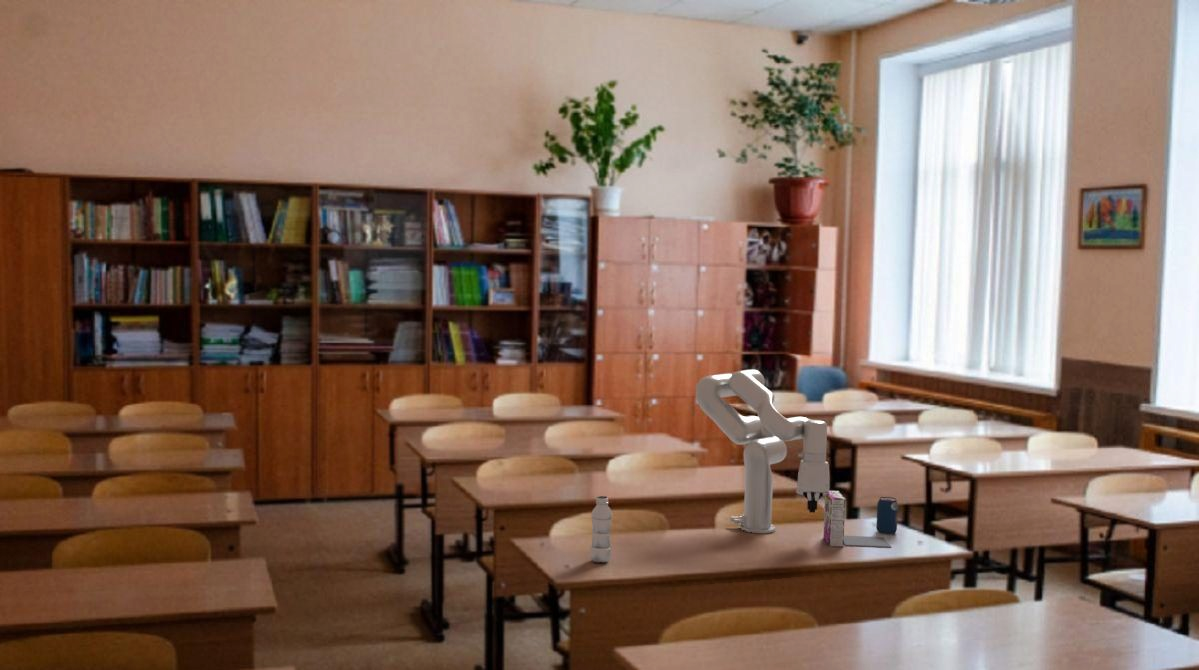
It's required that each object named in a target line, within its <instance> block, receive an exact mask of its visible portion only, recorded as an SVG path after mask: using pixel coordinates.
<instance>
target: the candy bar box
mask: <svg viewBox="0 0 1199 670" xmlns="http://www.w3.org/2000/svg"><path fill="white" fill-rule="evenodd" d="M823 509H824V511H823V513H824V515H823V539H824V540H825V543H827V545H828V546H829V547H831V548H832V547H833V548H835V547H836V548H840V547H841V548H843V547H844V536H845V519H846V518H845V514H846V511H845V509H846V498H845V497H844V496H843V495H842V493H841V492H840V491H839V490H829V495H825V496H824V508H823Z"/></svg>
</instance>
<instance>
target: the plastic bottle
mask: <svg viewBox="0 0 1199 670" xmlns="http://www.w3.org/2000/svg"><path fill="white" fill-rule="evenodd" d="M595 499H596V500H595V504H596V505H595V507H594V508H593V509H592V510H591V511H592V512H591V525H592V537H591V538H592V539H591V546H590V551H589V557H590V559H591V561H592V562H594V563H600V562H601V563H607V562H609V561H610V560H611V555H612V549H611V539H610V538H611V537H610V536H611V535H610V534H611V533H610V532H611V524H612V520H613V512H612V510H611V508H610V507H609V497H608V496H605V495H599V496H596V498H595Z"/></svg>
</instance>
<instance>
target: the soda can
mask: <svg viewBox="0 0 1199 670" xmlns="http://www.w3.org/2000/svg"><path fill="white" fill-rule="evenodd" d="M898 513H899V503H898V501H897V498H895V497H890V496H880V497H879V500H877V506H876V528H875V529H876V531H877V532H878V534H881V535H887V536H888V535H889V536H890V535H893V536H894V535H895V533H897V530H898Z"/></svg>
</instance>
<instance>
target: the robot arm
mask: <svg viewBox="0 0 1199 670" xmlns="http://www.w3.org/2000/svg"><path fill="white" fill-rule="evenodd" d="M764 377H765V376H764V375H763V373H761V372H760V371H759V370H757V369H743V370H738V371H733V372H725V373H724V372H723V373H718V374H711V375H706V376H704V377H702V378H701V379H700V380H699V381H698V382H697V383H696V387H695V398H696V401H697V403H698V406H699V408H700V409H701V410H702V411H703V413H705V415H707V417H709V418H710V419H711V421H713V422H714V423H715V424H716V426H717V427H718V428H719V429H720V430H721V431H722V432H723V433H724V435H726V436H727V437H728V438H729V440H730V441H732V443H734V444H736V445H746V446H744V449H743V462H744V463H743V464H744V471H745V472H744V473H745V474H744V503H743V506H744V507H743V513H742V514H741V515H739V516H736V515H735V516H733V515H732V516H730V518H729V519H730V521H729V522H730V523H734V524H738V529H739V528H741V529H743V530H745V531H744V532H746V531H747V532H746V533H750V532H752V533H751V534H771V533H774V532H775V531H776V526H775V525H774V524H772V509H773V486H774V485H773V484H774V478H773V472H772V469H771V465H774V464H778V463H781V462H782V461H784V460H785V458H786V457H787V454H788V449H787V444H786V443H785V442H790V441H795V440H796V441H797V440H801V439H803V444H802V445H803V446H802V448H803V449H802V452H800V453H798V455H797V457H798V458H801V460H800V463H799V465H798V466H799V467H798V471H797V472H798V473H797V474H798V475H797V483H796V484H797V488H796V494H798V495H801V496H804V498H806V500H807V506H806V509H807V510H808V511H809V513H813V514H815V513H816V510H818V501H819V500H821V498H822V497H825V495H829V491H830V465H829V462H828V461H827V444H828V443H827V441H828V440H827V438H828V437H827V435H828V423H827V422H826V421H824V420H821V419H812V418H811V419H810V418H807V417H804V416H794V417H793V416H792V417H788V418H786V417H785V416H783V415H782V413H780V412H779V411H778V410H777V409H776V408H775V407H774V405H773V404H774V402H775V395H774V392H772V391H771V390H770V389H768V388H767V387H766V386H765V384H766V380H765V378H764ZM728 397H739V399H741V400H742V401H744V403H746V404H747V405H748V406H750V407H751V409H753V410H754V411H755V412H756V413H757V416H756V415H746V416H744V415H742V414H741V413H739V412H738V410H736V409H735V408H734V406H733V405H731V404H730V403H729V402H727V401H726V400H724V399H723V398H728ZM811 493H814V494H813V498H812V494H811ZM741 529H740V530H741ZM743 530H742V531H743Z"/></svg>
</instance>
